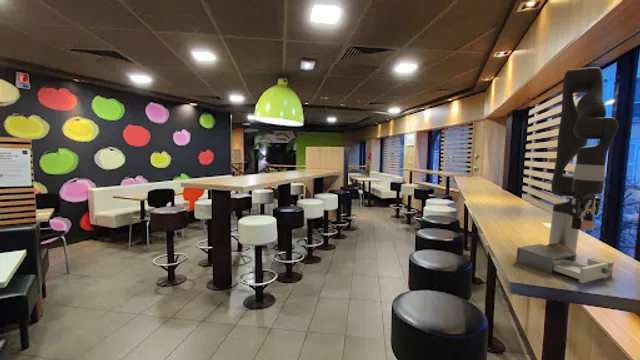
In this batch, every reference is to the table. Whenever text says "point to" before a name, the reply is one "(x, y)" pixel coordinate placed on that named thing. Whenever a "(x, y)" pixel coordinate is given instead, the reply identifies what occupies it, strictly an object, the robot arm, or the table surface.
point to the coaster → (585, 224)
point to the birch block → (598, 260)
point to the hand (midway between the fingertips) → (581, 227)
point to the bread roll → (560, 247)
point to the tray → (581, 270)
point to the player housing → (542, 257)
